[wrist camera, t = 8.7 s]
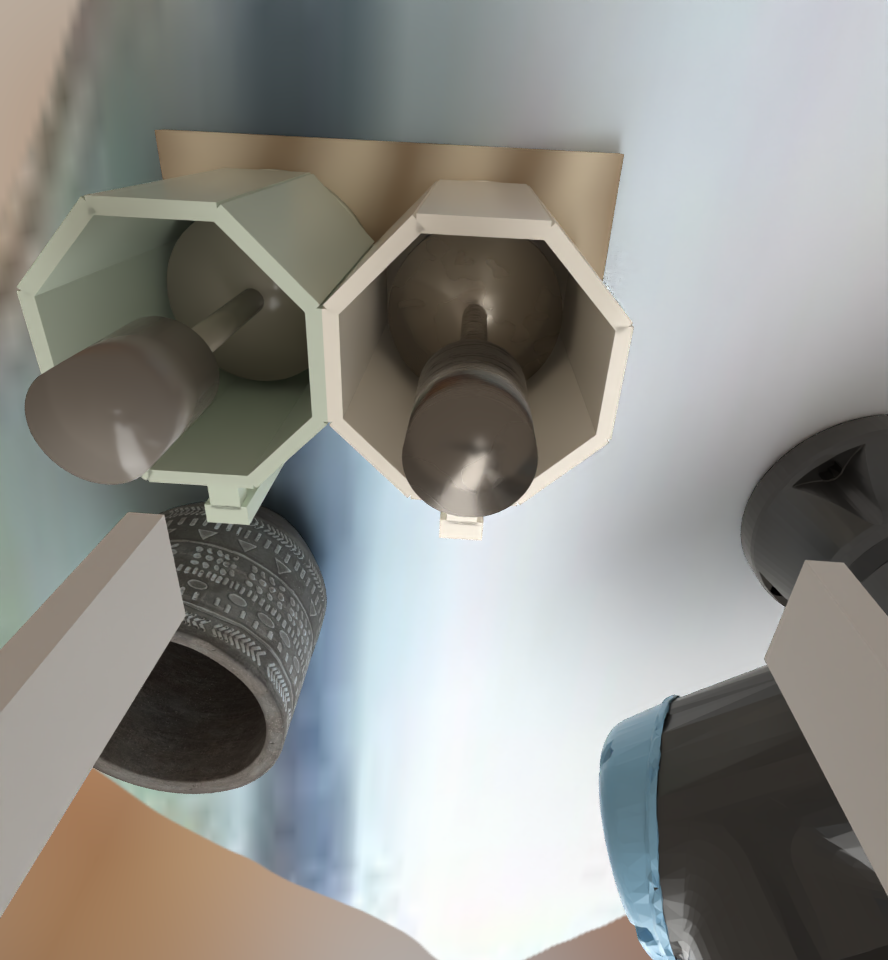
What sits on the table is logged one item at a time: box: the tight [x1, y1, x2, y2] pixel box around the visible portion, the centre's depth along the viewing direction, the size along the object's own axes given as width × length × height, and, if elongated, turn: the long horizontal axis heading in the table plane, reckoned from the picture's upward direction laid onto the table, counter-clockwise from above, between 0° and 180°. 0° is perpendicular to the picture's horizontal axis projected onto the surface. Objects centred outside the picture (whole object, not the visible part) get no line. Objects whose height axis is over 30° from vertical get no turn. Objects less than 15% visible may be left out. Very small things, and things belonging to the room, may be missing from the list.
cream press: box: [322, 179, 634, 541], centre depth 30 cm, size 11×14×14 cm
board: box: [155, 130, 624, 281], centre depth 36 cm, size 24×14×1 cm, turn 88°
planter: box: [93, 502, 327, 794], centre depth 41 cm, size 14×14×15 cm
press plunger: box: [388, 234, 563, 517], centre depth 24 cm, size 8×8×15 cm
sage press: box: [17, 168, 375, 525], centre depth 28 cm, size 11×14×20 cm
